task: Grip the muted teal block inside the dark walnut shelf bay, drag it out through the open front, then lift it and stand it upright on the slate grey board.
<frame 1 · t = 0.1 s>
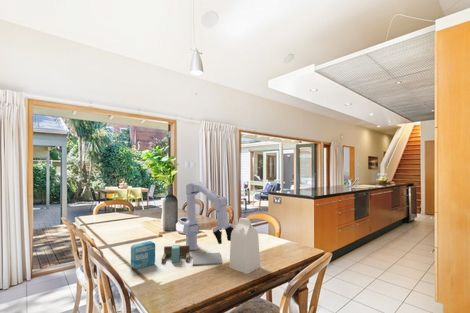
hand: (224, 242, 142), 11 cm above the table, tool pointing down, fingers open, 7 cm apart
block: (175, 260, 143), on the table
data package: (143, 266, 136), on the table
milk: (244, 267, 133), on the table
bay: (175, 260, 143), on the table
board: (207, 259, 144), on the table
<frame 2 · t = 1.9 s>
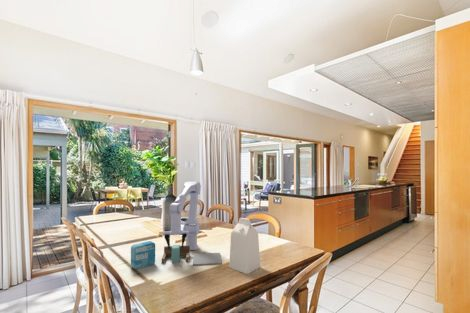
hand: (175, 247, 143), 7 cm above the table, tool pointing down, fingers open, 7 cm apart
nothing on the table moved.
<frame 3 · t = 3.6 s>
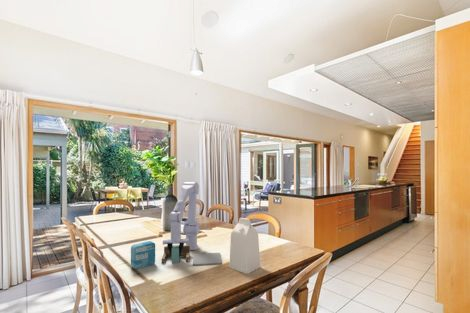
hand: (175, 256, 143), 2 cm above the table, tool pointing down, fingers closed on block, 4 cm apart
block: (175, 260, 143), on the table, touching gripper
everything else where it was.
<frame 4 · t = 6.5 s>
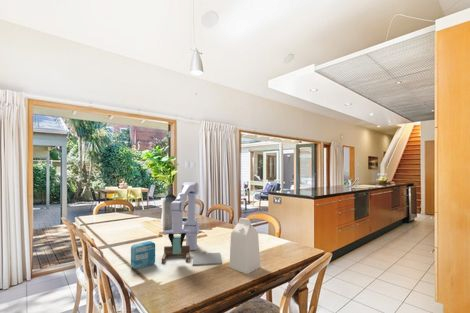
hand: (177, 247, 138), 9 cm above the table, tool pointing down, fingers closed on block, 4 cm apart
block: (177, 251, 138), point 7 cm above the table, touching gripper
everything else where it was.
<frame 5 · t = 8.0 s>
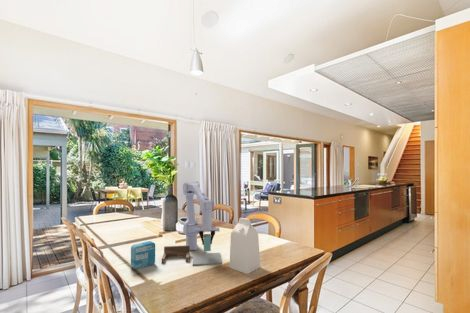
hand: (207, 244, 144), 9 cm above the table, tool pointing down, fingers closed on block, 4 cm apart
block: (207, 249, 145), point 6 cm above the table, touching gripper
everything else where it was.
when the fingers open (5 cm above the table, at t = 9.5 s): block stays where it is, resting on board.
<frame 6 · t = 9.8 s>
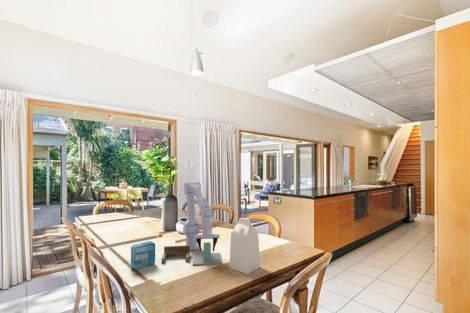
hand: (207, 251, 144), 5 cm above the table, tool pointing down, fingers open, 7 cm apart
block: (207, 257, 144), point 1 cm above the table, touching board
everything else where it was.
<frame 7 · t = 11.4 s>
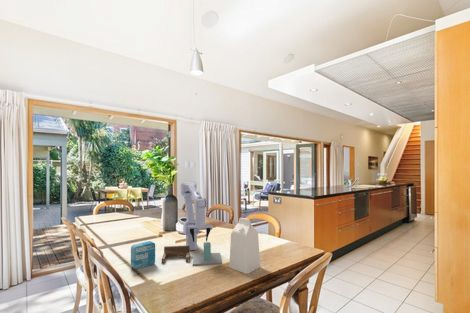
hand: (200, 241, 149), 9 cm above the table, tool pointing down, fingers open, 7 cm apart
nothing on the table moved.
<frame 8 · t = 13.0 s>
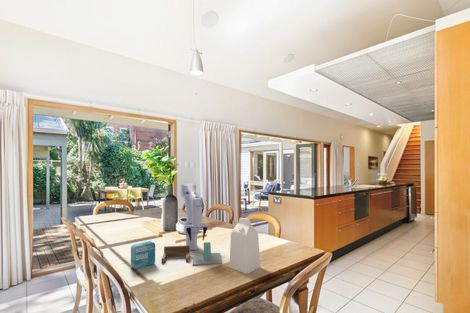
hand: (197, 240, 151), 9 cm above the table, tool pointing down, fingers open, 7 cm apart
nothing on the table moved.
at the end: block inside the target area on the board (0.3 cm from its centre), point 0.8 cm above the board's base; block tilted 0°; the gripper is holding nothing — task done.
